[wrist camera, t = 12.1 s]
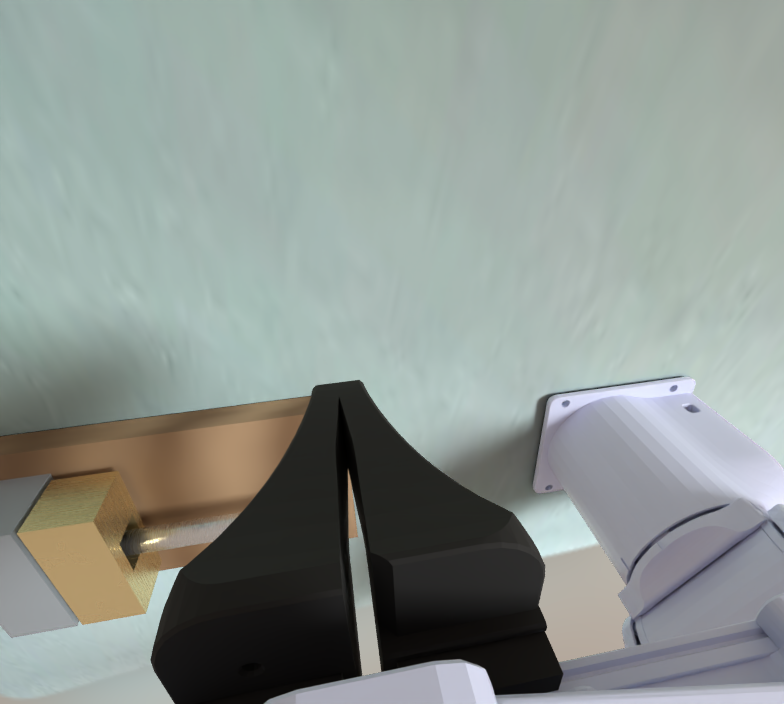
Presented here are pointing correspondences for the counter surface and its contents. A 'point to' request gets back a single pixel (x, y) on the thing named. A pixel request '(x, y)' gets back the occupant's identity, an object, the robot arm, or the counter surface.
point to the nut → (91, 547)
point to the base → (141, 489)
